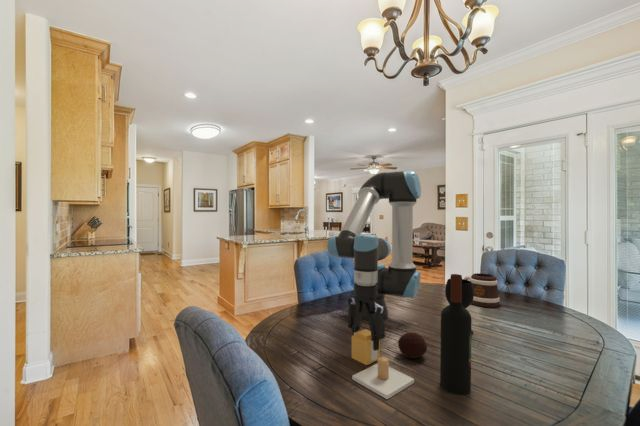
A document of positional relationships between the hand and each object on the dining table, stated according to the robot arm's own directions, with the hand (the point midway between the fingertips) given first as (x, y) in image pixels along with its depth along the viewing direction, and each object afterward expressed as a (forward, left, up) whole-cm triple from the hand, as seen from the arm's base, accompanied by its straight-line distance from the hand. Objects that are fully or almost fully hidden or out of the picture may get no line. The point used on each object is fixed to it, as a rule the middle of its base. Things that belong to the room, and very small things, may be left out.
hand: (365, 355), depth 98 cm
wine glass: (+8, +47, -1) cm, 48 cm away
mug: (-4, +95, -1) cm, 95 cm away
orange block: (0, 0, -1) cm, 1 cm away
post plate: (+12, -6, -1) cm, 13 cm away
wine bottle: (+26, +7, -1) cm, 27 cm away
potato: (+9, +13, -1) cm, 16 cm away
